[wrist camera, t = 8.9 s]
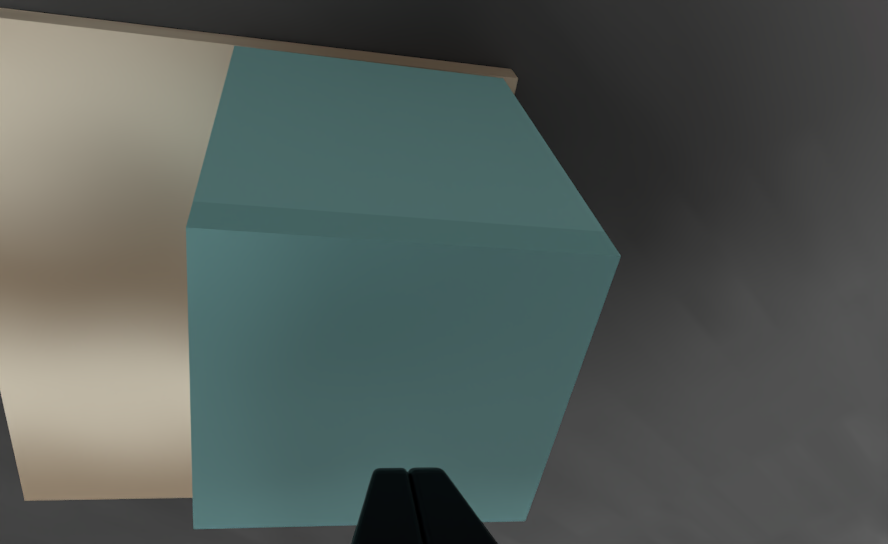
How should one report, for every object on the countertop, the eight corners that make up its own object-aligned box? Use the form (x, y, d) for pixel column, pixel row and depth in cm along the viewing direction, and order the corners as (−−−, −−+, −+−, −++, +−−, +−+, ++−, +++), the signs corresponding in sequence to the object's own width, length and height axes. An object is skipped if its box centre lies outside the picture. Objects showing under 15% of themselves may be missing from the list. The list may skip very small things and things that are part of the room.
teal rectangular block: (456, 289, 17) (525, 520, 12) (230, 277, 16) (193, 529, 11) (503, 78, 14) (620, 256, 9) (234, 46, 13) (185, 228, 8)
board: (420, 477, 22) (423, 493, 22) (31, 482, 20) (24, 500, 19) (511, 69, 15) (518, 78, 15) (-71, -1, 13) (-86, 7, 12)
